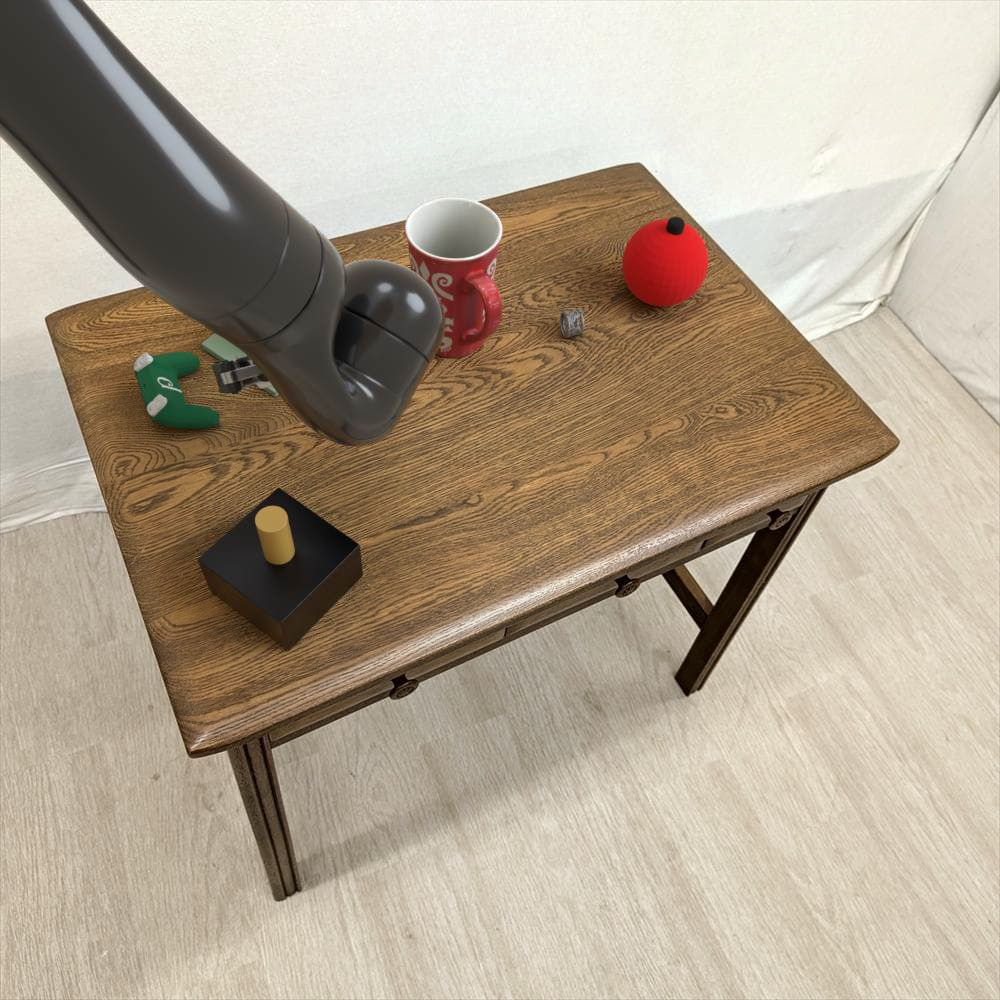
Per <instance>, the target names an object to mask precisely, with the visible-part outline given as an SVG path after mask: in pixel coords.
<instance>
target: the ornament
mask: <svg viewBox="0 0 1000 1000" xmlns="http://www.w3.org/2000/svg"><path fill="white" fill-rule="evenodd" d="M708 269H709V253H708V250H707V246H706V243H705V240H704V239H703V237H702V236H701V235H700V233H699V232H698V230H696V229H695V228H694V227H692V226H691V225H690V224H688V223H686V222H685V221H684V219H682V218H681V217H679V216H672V217H670V218H661V219H656V220H652V221H651V222H648V223H646V224H644V225H642V226H641V227H640V228H639V229H637V230H636V231H635V232H634V233H633V235H631V237H630V239H629V241H628V242H627V243H626V246H625V249H624V251H623V254H622V261H621V270H622V275H623V280H624V281H625V283H626V286H627V287H628V289H629V290H630V292H631V293H632V294H633V296H635V297H636V298H637V299H639V300H640V301H642V302H643V303H646V304H648V305H651V306H655V307H661V308H662V307H663V308H664V307H672V306H676V305H679V304H681V303H684V302H686V301H687V300H688V299H690V298H691V297H693V296H694V295H695V294H696V293H697V291H698V290H700V288H701V286H703V285H702V284H703V283H704V280H705V279H706V277H707V273H708Z"/></svg>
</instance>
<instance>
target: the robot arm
mask: <svg viewBox="0 0 1000 1000" xmlns="http://www.w3.org/2000/svg"><path fill="white" fill-rule="evenodd" d="M0 138H1V139H2V140H3V141H4V142H5V143H6V145H8V147H9V148H10V149H11V150H12V151H14V153H15V154H16V155H17V156H18V157H19V158H20V159H21V160H22V161H23V162H24V163H25V164H26V165H27V167H29V168H30V169H31V171H33V172H34V174H35V175H36V176H37V177H38V178H39V179H40V180H41V181H42V182H43V183H44V185H45V186H46V187H47V188H48V189H49V190H50V191H51V192H52V194H53V195H55V197H56V198H57V199H58V200H59V201H60V202H61V203H62V204H63V205H64V206H65V208H66V209H67V210H68V211H69V212H70V214H71V215H72V216H73V217H74V218H75V220H77V221H78V222H79V224H80V225H81V226H82V227H83V228H84V229H85V231H87V233H88V234H89V235H90V236H91V237H92V238H93V239H94V240H95V242H96V243H97V244H98V245H99V246H100V247H101V248H102V249H103V251H105V252H106V253H107V254H108V255H109V256H110V257H111V258H112V259H113V260H114V261H115V262H116V264H118V265H119V266H120V267H122V269H123V270H125V271H126V272H127V273H128V274H129V275H130V276H132V278H134V279H135V280H136V281H137V282H139V284H141V285H142V286H143V287H144V288H146V289H147V290H148V291H150V292H151V293H152V294H153V295H154V296H156V297H158V299H160V300H162V301H163V302H165V304H167V305H169V306H170V307H172V308H173V309H175V310H177V311H178V312H180V313H182V314H183V315H185V316H186V317H188V318H190V319H191V320H193V321H195V322H196V323H197V324H200V325H201V326H203V327H204V328H206V329H207V330H209V331H211V332H212V333H214V334H215V333H216V334H217V335H219V336H220V337H222V338H224V339H225V340H227V341H228V342H230V343H231V344H233V345H234V346H236V347H237V348H239V349H240V350H241V351H243V352H244V353H245V354H246V356H243V357H242V356H241V355H240V356H236V358H235V359H232V360H231V361H228V360H224V361H220V360H217V361H215V362H214V363H213V364H211V365H210V368H211V369H212V371H213V374H214V377H215V380H216V382H217V386H218V391H219V394H225V395H230V394H231V395H236V394H239V392H241V391H243V390H245V389H247V388H249V387H250V388H251V386H252V385H256V387H257V388H258V389H261V390H264V389H263V388H268V387H274V388H275V390H276V391H277V393H278V394H279V395H278V396H279V397H280V398H281V399H282V401H283V402H284V403H285V404H286V406H287V407H288V408H289V410H291V412H293V413H294V415H295V416H296V417H297V418H298V419H299V420H300V421H301V423H303V424H304V425H305V426H307V427H308V428H309V429H310V430H312V431H313V432H314V433H316V434H318V435H319V436H321V437H323V438H324V439H326V440H327V441H330V442H331V443H334V444H337V445H340V446H344V447H352V448H361V447H367V446H371V445H374V444H377V443H379V442H381V441H383V440H385V439H386V438H388V437H389V436H390V434H391V433H393V431H394V430H395V429H396V427H397V426H398V424H399V422H400V420H401V419H402V417H403V415H404V413H405V412H406V409H407V407H408V406H409V403H410V402H411V400H412V398H413V396H414V394H415V393H416V391H417V389H418V387H419V385H420V383H421V382H422V381H423V378H424V376H425V375H426V373H427V371H428V369H429V367H430V364H431V363H432V362H433V360H434V359H435V357H436V352H437V351H438V349H439V347H440V345H441V342H442V340H443V336H444V333H445V326H446V324H445V313H444V309H443V306H442V303H441V301H440V299H439V297H438V295H437V294H436V292H435V291H434V289H433V288H432V287H431V286H430V285H429V283H428V282H427V281H426V280H424V279H423V278H422V277H421V276H420V275H418V274H417V273H415V272H414V271H412V270H411V269H410V268H408V267H406V266H404V265H402V264H399V263H397V262H393V261H390V260H385V259H376V258H366V259H357V260H355V261H352V262H349V263H347V264H345V262H344V260H343V258H342V256H341V254H340V252H339V250H338V249H337V248H336V246H335V245H334V244H333V243H332V242H331V240H330V239H329V238H328V237H327V236H326V235H325V234H324V233H323V232H322V231H321V230H320V229H319V228H317V227H316V226H315V225H314V224H312V222H310V221H309V219H307V218H306V217H305V216H304V215H302V213H300V212H299V211H298V210H297V209H296V208H295V207H294V206H293V205H292V204H290V203H289V202H288V201H287V200H286V199H285V198H284V197H283V196H282V195H280V193H278V192H277V191H276V190H275V189H274V188H273V187H272V186H270V185H269V184H268V183H267V182H266V180H264V179H263V178H261V177H260V176H259V175H258V174H257V173H256V172H255V171H254V170H252V168H250V167H249V166H248V165H247V164H246V163H245V162H244V161H243V160H241V159H240V158H239V157H238V156H237V155H236V154H235V153H234V152H232V151H231V150H230V149H229V148H228V146H226V145H225V144H224V142H223V141H221V140H220V139H219V138H218V137H216V136H215V135H214V134H213V133H212V131H210V130H209V129H208V128H207V126H205V125H204V124H203V123H202V122H201V121H200V120H198V118H197V117H196V116H194V114H192V112H190V111H189V109H188V108H186V106H184V105H183V104H182V103H181V102H180V101H179V100H178V98H177V97H176V96H174V95H173V93H172V92H171V91H169V90H168V88H167V87H166V86H165V85H163V84H162V82H161V81H159V79H158V78H157V77H156V76H155V75H154V74H153V73H152V72H151V71H150V70H149V69H148V68H147V67H146V66H145V64H143V63H142V62H141V61H140V60H139V59H138V57H136V56H135V54H133V52H132V51H131V50H130V49H129V48H128V47H127V46H126V45H125V44H124V43H123V41H122V40H121V39H119V37H118V36H117V35H116V34H115V33H114V32H113V31H112V29H110V27H108V25H106V23H105V22H104V21H103V20H102V19H101V17H99V15H98V14H97V13H96V12H95V11H94V10H93V9H92V8H91V7H90V6H89V5H88V3H87V2H86V1H85V0H0Z"/></svg>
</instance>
